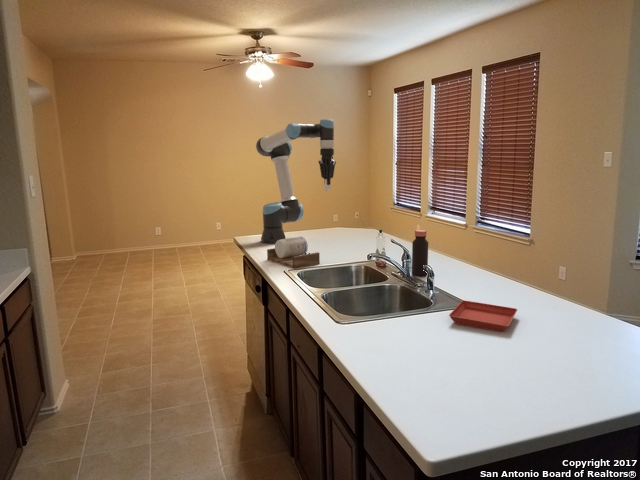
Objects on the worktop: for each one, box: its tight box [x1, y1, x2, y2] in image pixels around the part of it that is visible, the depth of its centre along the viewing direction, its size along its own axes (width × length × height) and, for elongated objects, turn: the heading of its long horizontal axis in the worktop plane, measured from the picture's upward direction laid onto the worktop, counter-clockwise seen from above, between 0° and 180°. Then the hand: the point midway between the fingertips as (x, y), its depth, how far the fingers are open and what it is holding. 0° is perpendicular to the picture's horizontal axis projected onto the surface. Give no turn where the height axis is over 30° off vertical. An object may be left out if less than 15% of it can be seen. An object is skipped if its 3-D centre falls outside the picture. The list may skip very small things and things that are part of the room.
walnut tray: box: [266, 247, 321, 269], centre depth 237 cm, size 24×15×6 cm, turn 38°
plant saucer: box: [448, 300, 518, 332], centre depth 153 cm, size 18×18×3 cm
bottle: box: [411, 229, 429, 278], centre depth 207 cm, size 7×7×20 cm
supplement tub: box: [274, 236, 309, 258], centre depth 242 cm, size 10×10×15 cm
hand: (327, 190), depth 267 cm, fingers closed
